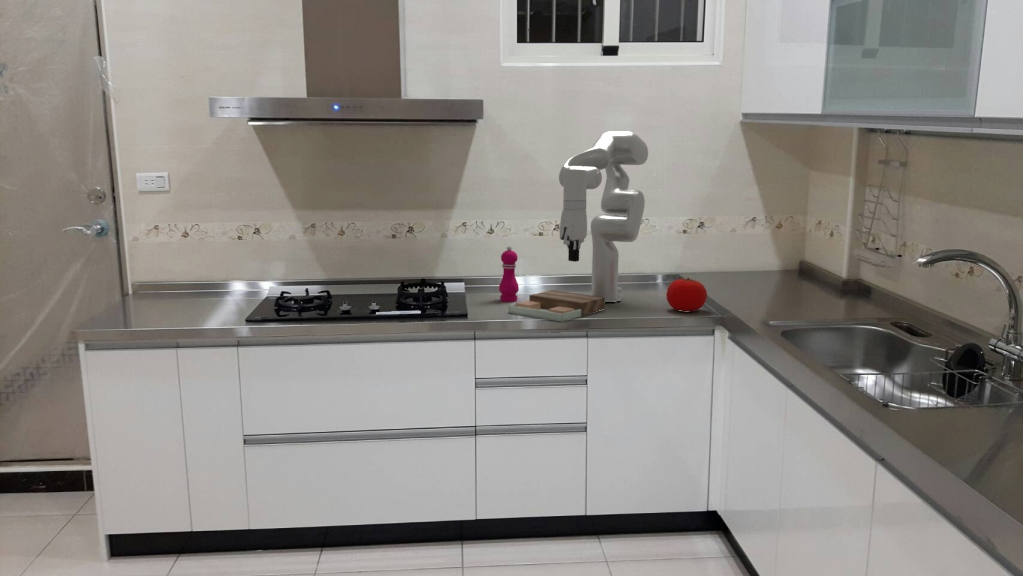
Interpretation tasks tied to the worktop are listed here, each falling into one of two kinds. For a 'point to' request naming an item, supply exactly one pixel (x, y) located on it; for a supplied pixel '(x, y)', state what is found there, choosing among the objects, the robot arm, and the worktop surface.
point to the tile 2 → (561, 310)
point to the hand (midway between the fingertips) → (573, 260)
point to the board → (569, 301)
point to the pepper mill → (508, 277)
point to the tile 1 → (529, 304)
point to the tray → (544, 313)
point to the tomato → (686, 295)
